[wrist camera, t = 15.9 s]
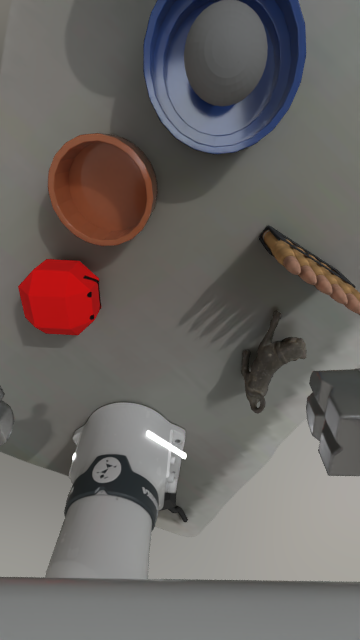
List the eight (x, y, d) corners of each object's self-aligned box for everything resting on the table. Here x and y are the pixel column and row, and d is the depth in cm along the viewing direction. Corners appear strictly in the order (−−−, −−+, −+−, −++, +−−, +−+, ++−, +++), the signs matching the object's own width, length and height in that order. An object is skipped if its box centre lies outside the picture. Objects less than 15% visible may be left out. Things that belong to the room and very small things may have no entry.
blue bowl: (284, 146, 33) (298, 146, 28) (158, 157, 34) (152, 159, 29) (296, -31, 27) (316, -65, 22) (141, -11, 28) (131, -39, 23)
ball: (106, 314, 43) (90, 345, 36) (47, 311, 43) (20, 342, 37) (101, 256, 39) (82, 279, 32) (36, 252, 39) (4, 275, 33)
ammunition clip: (257, 238, 37) (282, 276, 27) (267, 224, 37) (297, 258, 26) (328, 283, 40) (376, 334, 29) (339, 271, 39) (392, 319, 28)
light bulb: (264, 52, 29) (294, 13, 20) (232, 124, 32) (247, 118, 23) (203, 17, 28) (207, -39, 19) (176, 95, 31) (168, 77, 22)
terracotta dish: (162, 231, 37) (158, 242, 33) (76, 237, 38) (63, 249, 34) (151, 130, 32) (145, 128, 29) (53, 139, 33) (34, 139, 29)
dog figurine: (264, 385, 48) (275, 423, 41) (229, 372, 47) (234, 409, 40) (310, 320, 42) (331, 352, 36) (271, 304, 41) (285, 335, 35)
